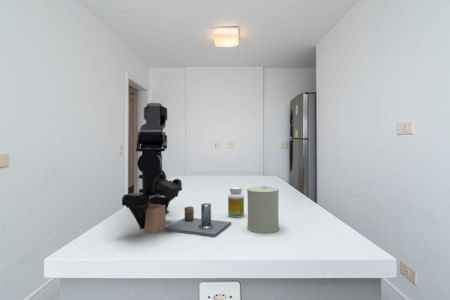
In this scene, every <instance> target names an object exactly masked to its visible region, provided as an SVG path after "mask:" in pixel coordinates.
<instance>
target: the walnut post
mask: <svg viewBox="0 0 450 300" xmlns="http://www.w3.org/2000/svg"><path fill="white" fill-rule="evenodd" d="M184 218H185V221H186V222H191V221H194V218H195V215H194V207H193V206H185V207H184Z"/></svg>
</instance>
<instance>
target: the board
mask: <svg viewBox="0 0 450 300" xmlns="http://www.w3.org/2000/svg"><path fill="white" fill-rule="evenodd" d="M200 224H201V218H198V217H197V218H196V217H194V221H191V222H186V221H185V217H183V218H181V219H179V220H177V221H175V222H173V223H171V224H168V225H167V226H166V227H165V228H163V229H164V231H167V232H172V233H182V234H188V235H195V236H204V237H211V238H216V237H217V236H219V234H221V233H222V232H223V231H225V230H227V228H229V227H230V226H232V221H226V220H225V221H224V220H217V219H211V224H213V225H214V227H213V228H211V229H200V228H199V225H200Z"/></svg>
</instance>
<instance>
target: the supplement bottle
mask: <svg viewBox="0 0 450 300" xmlns="http://www.w3.org/2000/svg"><path fill="white" fill-rule="evenodd" d="M242 189H243V188H242V187H239V186H233V187H232V186H231V187H230V188H229V192H230V193H229V194H228V196H227V204H228V205H227V212H228V215H227V216H228V217H230V218H234V219H237V218H238V219H239V218H243V217H244V216H245V198H244V196H245V195H244V194H243V192H242V191H243V190H242Z"/></svg>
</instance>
